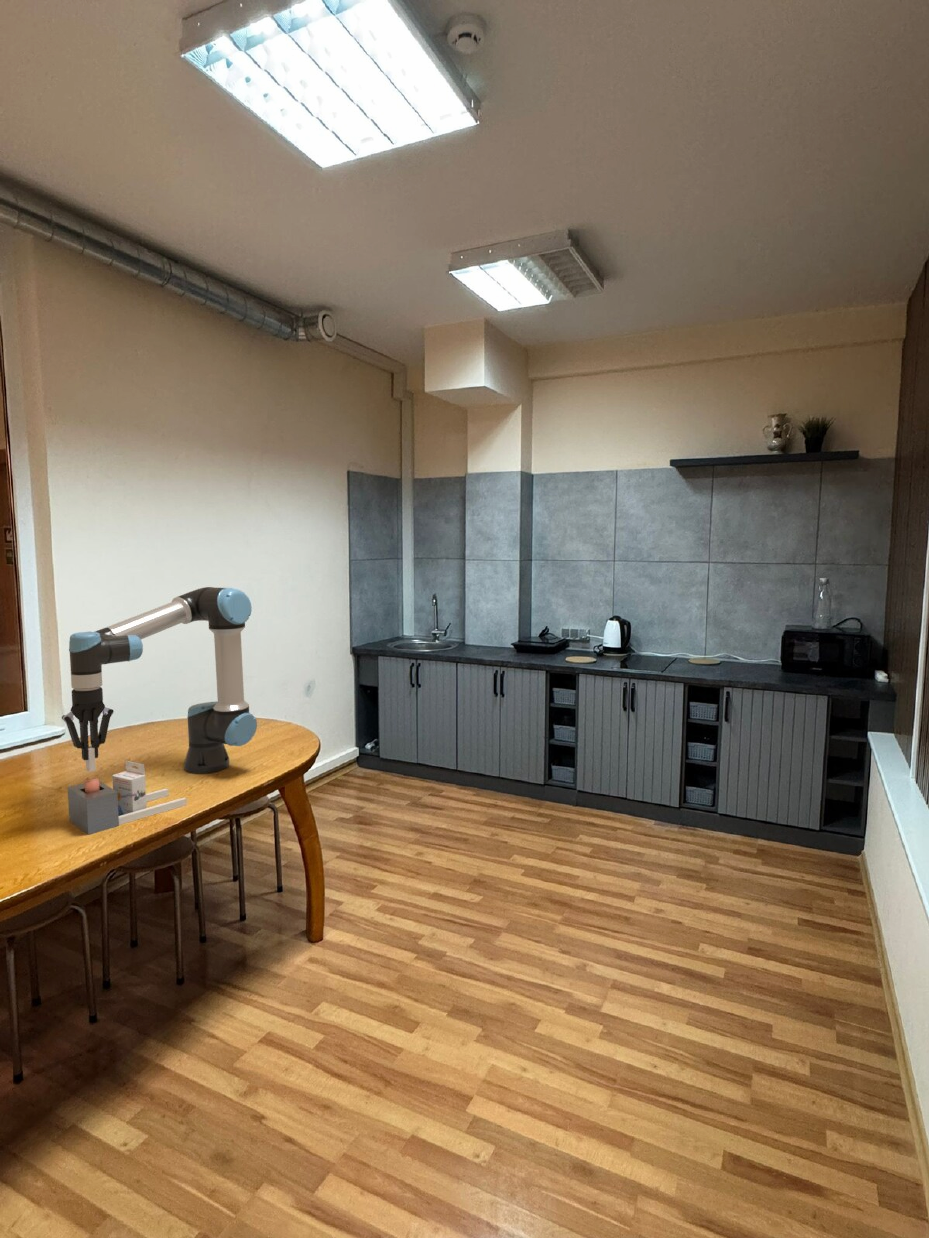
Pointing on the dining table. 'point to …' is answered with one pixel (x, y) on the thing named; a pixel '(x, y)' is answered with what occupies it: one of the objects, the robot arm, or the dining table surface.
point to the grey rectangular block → (93, 808)
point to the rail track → (153, 807)
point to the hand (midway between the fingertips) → (90, 770)
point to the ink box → (130, 788)
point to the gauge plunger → (91, 785)
